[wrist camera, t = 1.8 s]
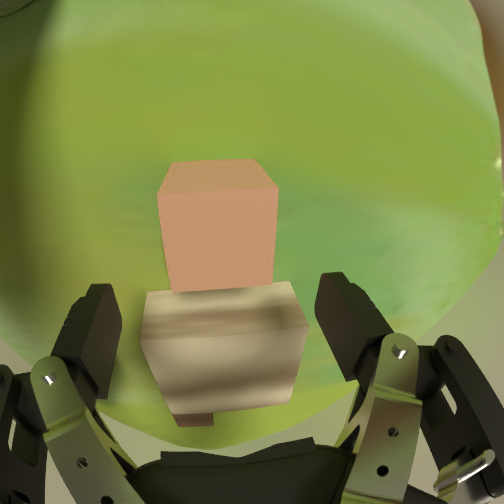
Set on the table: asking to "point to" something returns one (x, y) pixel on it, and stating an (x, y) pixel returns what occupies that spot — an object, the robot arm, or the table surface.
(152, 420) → the table surface
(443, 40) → the table surface
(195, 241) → the terracotta block
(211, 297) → the birch block
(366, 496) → the robot arm
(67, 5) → the table surface
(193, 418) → the walnut block
